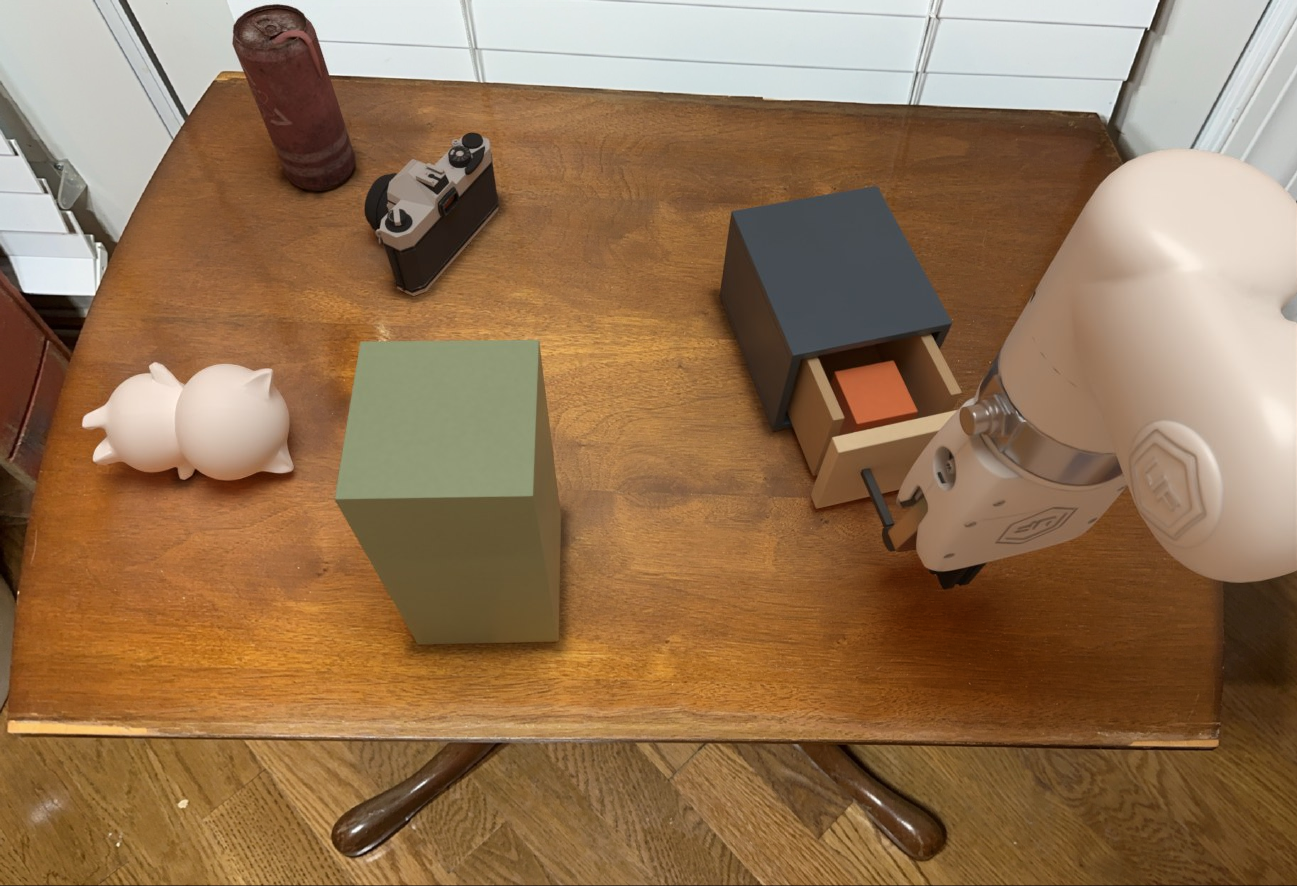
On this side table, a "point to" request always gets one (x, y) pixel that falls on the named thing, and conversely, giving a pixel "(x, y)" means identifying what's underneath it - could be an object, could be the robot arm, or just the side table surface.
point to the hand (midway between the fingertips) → (944, 565)
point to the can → (294, 95)
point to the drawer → (878, 452)
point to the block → (872, 397)
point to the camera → (433, 211)
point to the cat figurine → (196, 423)
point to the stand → (456, 487)
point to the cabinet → (821, 286)
